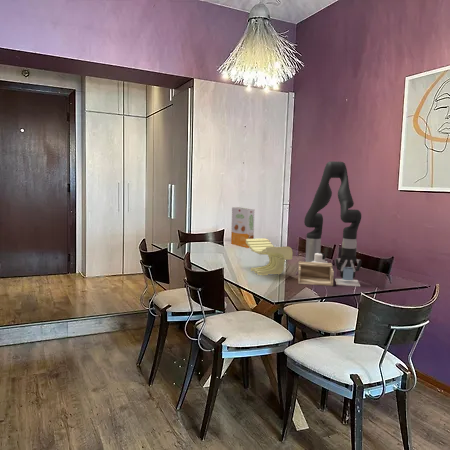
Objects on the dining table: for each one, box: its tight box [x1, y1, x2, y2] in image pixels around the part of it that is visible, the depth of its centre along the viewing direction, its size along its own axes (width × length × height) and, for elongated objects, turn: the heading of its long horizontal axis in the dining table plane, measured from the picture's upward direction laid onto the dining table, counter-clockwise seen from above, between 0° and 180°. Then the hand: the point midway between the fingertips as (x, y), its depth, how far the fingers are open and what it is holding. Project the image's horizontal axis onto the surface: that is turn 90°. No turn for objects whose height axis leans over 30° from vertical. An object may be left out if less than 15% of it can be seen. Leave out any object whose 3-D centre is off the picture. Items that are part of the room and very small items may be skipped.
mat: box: [334, 278, 361, 287], centre depth 227 cm, size 12×12×1 cm
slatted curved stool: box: [246, 237, 293, 276], centre depth 247 cm, size 30×16×18 cm, turn 19°
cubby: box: [297, 261, 335, 287], centre depth 230 cm, size 18×18×8 cm
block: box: [341, 266, 354, 280], centre depth 226 cm, size 5×5×6 cm
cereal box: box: [230, 206, 255, 249], centre depth 338 cm, size 22×6×30 cm, turn 32°
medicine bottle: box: [311, 252, 329, 263], centre depth 248 cm, size 7×7×12 cm
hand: (347, 277), depth 227 cm, fingers closed on block, 5 cm apart
